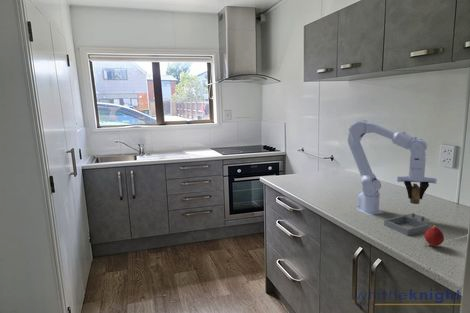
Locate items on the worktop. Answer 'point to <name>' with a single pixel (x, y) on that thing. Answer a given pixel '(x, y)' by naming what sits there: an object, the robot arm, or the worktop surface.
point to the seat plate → (416, 217)
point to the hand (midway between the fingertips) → (415, 198)
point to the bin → (419, 225)
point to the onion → (434, 236)
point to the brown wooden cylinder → (415, 194)
